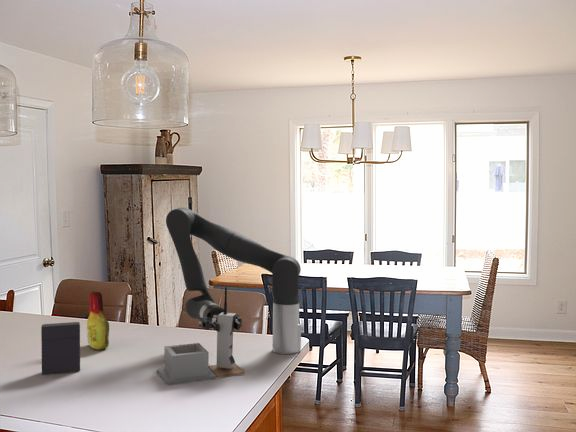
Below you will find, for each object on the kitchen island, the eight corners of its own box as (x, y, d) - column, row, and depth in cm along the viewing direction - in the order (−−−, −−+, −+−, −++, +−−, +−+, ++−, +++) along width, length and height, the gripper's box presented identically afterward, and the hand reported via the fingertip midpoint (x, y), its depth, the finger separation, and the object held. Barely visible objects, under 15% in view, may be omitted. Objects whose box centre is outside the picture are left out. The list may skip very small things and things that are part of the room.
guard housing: (203, 365, 186) (203, 341, 186) (216, 379, 174) (216, 352, 173) (156, 371, 180) (157, 345, 180) (166, 385, 168) (166, 358, 167)
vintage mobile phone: (231, 369, 179) (233, 289, 177) (216, 367, 180) (218, 288, 178) (235, 365, 183) (237, 287, 181) (220, 363, 184) (221, 286, 182)
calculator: (79, 367, 182) (79, 321, 182) (80, 372, 178) (80, 324, 178) (42, 371, 178) (41, 323, 178) (41, 375, 174) (41, 326, 174)
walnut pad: (234, 364, 188) (234, 362, 188) (244, 374, 178) (244, 371, 178) (207, 368, 184) (207, 365, 184) (216, 377, 175) (216, 375, 175)
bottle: (82, 345, 208) (82, 290, 207) (99, 342, 212) (99, 288, 211) (94, 352, 199) (94, 295, 198) (112, 349, 203) (112, 293, 202)
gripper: (192, 306, 190) (206, 317, 175) (233, 303, 196) (250, 313, 181) (192, 328, 191) (206, 341, 176) (233, 324, 197) (250, 337, 181)
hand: (228, 327), depth 178 cm, fingers closed on vintage mobile phone, 5 cm apart
